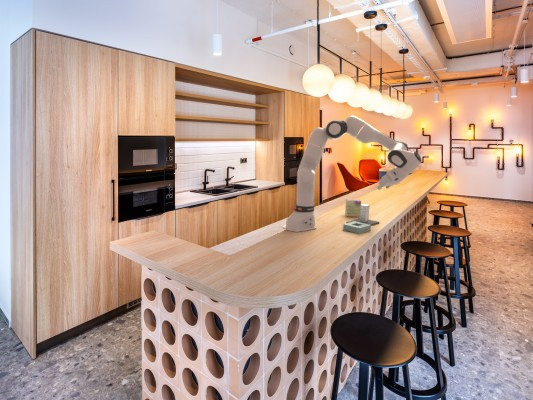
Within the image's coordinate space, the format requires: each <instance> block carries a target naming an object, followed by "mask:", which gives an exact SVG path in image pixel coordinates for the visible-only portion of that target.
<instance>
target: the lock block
mask: <svg viewBox="0 0 533 400" xmlns="http://www.w3.org/2000/svg"><path fill="white" fill-rule="evenodd" d="M342 230H344V231H347V232H351V233H355V234H359V235H360V234H364V233H367V232H370V231H371V230H372V226H371V225H369V224H365V223H360V222H356V221H354V222H350V223H346V222H345V223H343V226H342Z"/></svg>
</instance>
